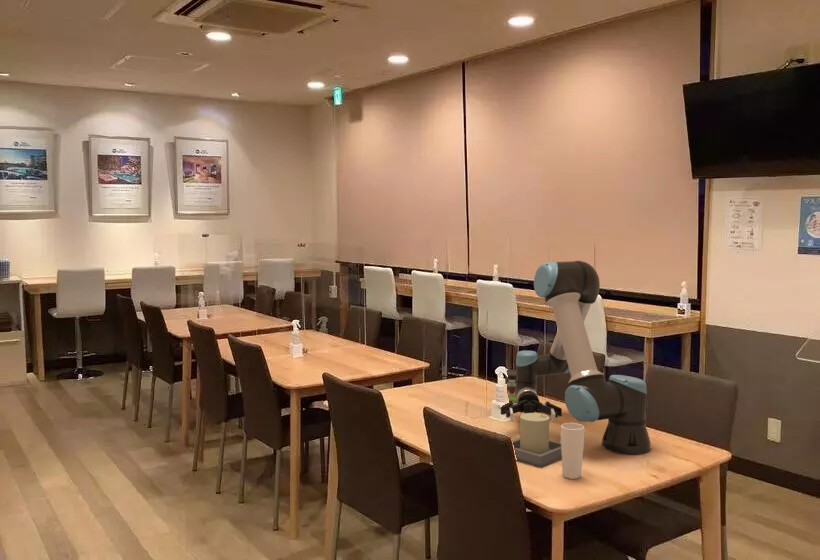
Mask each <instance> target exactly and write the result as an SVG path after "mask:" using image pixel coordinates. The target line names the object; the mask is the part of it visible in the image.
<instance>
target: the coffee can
mask: <svg viewBox="0 0 820 560" xmlns="http://www.w3.org/2000/svg"><path fill="white" fill-rule="evenodd" d="M506 370H507V375H508V379H507V394H508V398H509V401H513V402H514V403H517V398H516V395H515V388H516V369H506Z"/></svg>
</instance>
